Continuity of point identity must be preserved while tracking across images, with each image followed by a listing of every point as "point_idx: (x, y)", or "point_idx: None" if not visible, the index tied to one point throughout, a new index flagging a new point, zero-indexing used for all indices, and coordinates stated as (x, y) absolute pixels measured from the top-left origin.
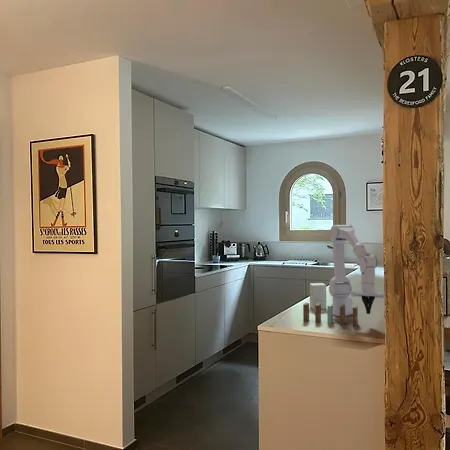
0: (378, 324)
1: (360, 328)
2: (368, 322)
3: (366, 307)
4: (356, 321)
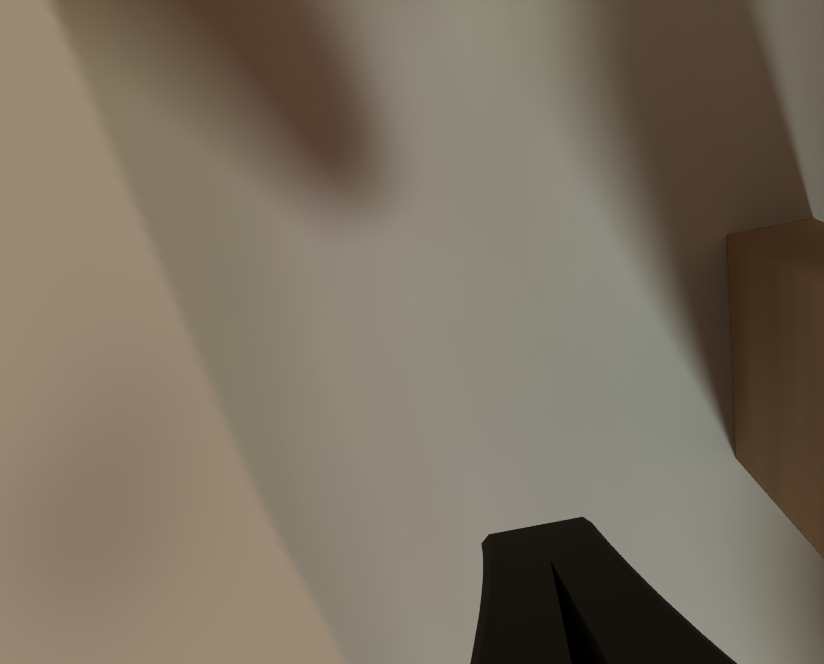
0: (339, 590)
1: (588, 47)
2: None
3: (667, 658)
4: (780, 286)
